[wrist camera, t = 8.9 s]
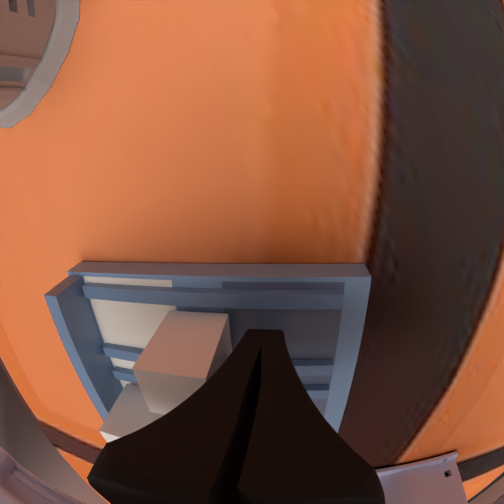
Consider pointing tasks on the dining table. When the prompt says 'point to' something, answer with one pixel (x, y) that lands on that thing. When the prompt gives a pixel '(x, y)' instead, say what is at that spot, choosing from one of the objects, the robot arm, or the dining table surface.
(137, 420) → the tab
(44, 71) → the french press
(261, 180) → the dining table surface
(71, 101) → the dining table surface
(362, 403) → the dining table surface
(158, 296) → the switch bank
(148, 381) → the tab
